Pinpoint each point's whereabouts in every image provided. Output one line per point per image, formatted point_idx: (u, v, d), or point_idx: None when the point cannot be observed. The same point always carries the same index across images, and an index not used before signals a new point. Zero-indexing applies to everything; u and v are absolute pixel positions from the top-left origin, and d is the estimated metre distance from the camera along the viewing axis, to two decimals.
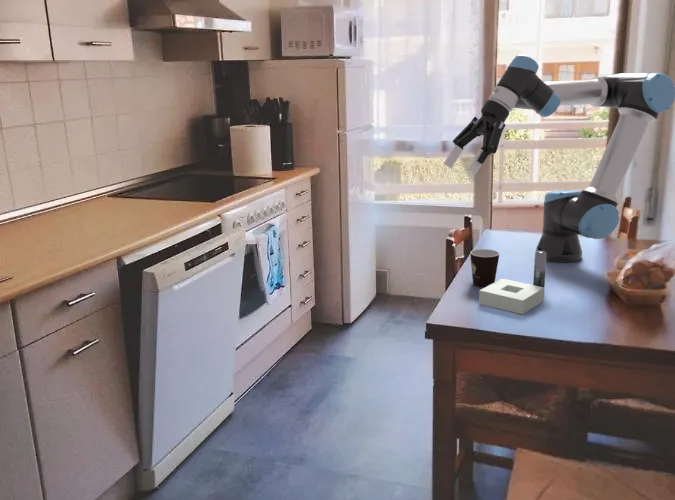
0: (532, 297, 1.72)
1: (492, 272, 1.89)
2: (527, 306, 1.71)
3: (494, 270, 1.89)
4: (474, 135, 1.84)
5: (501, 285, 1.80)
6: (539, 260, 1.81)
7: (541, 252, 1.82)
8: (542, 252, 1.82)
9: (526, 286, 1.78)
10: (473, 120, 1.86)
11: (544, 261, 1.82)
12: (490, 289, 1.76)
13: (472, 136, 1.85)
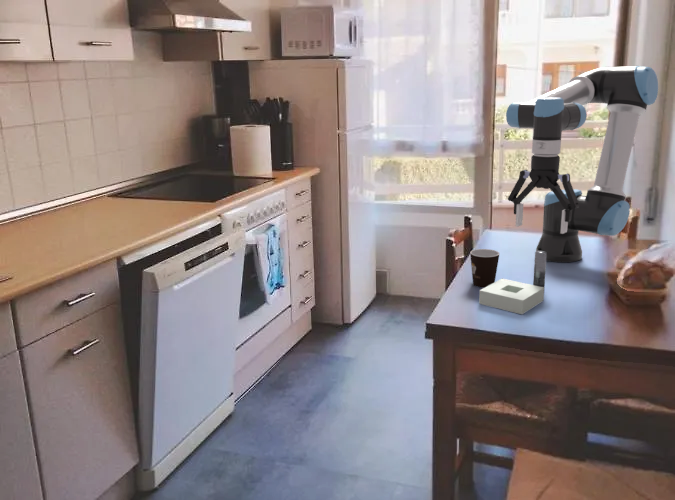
0: (532, 297, 1.72)
1: (492, 272, 1.89)
2: (527, 306, 1.71)
3: (494, 270, 1.89)
4: (532, 188, 1.80)
5: (501, 285, 1.80)
6: (539, 260, 1.81)
7: (541, 252, 1.82)
8: (542, 252, 1.82)
9: (526, 286, 1.78)
10: (522, 175, 1.80)
11: (544, 261, 1.82)
12: (490, 289, 1.76)
13: (530, 190, 1.80)
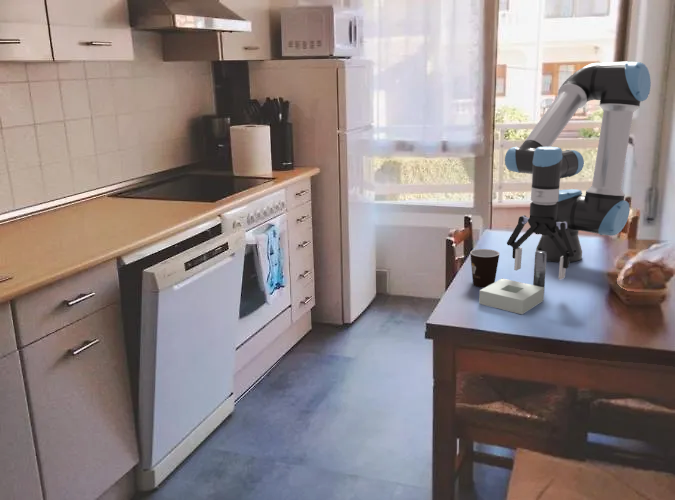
0: (532, 297, 1.72)
1: (492, 272, 1.89)
2: (527, 306, 1.71)
3: (494, 270, 1.89)
4: (530, 234, 1.83)
5: (501, 285, 1.80)
6: (539, 260, 1.81)
7: (541, 252, 1.82)
8: (542, 252, 1.82)
9: (526, 286, 1.78)
10: (521, 221, 1.83)
11: (544, 261, 1.82)
12: (490, 289, 1.76)
13: (529, 235, 1.84)
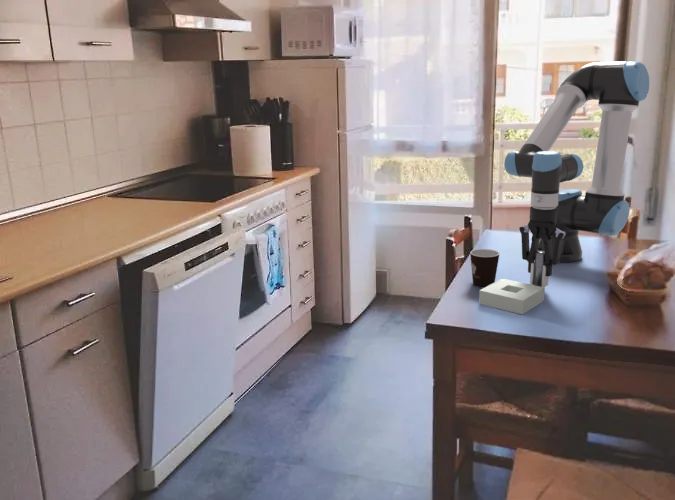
0: (532, 297, 1.72)
1: (492, 272, 1.89)
2: (527, 306, 1.71)
3: (494, 270, 1.89)
4: (537, 241, 1.83)
5: (501, 285, 1.80)
6: (539, 260, 1.81)
7: (541, 252, 1.82)
8: (542, 252, 1.82)
9: (526, 286, 1.78)
10: (522, 230, 1.83)
11: (544, 261, 1.82)
12: (490, 289, 1.76)
13: (537, 244, 1.83)
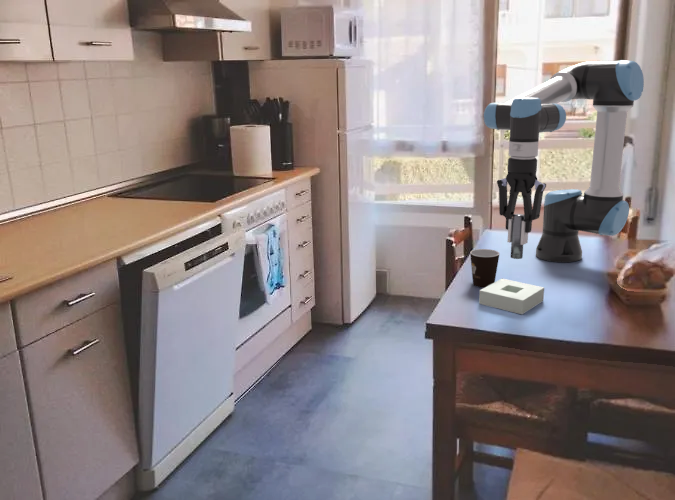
0: (532, 297, 1.72)
1: (492, 272, 1.89)
2: (527, 306, 1.71)
3: (494, 270, 1.89)
4: (516, 196, 1.71)
5: (501, 285, 1.80)
6: (517, 223, 1.71)
7: (519, 215, 1.72)
8: (520, 215, 1.71)
9: (526, 286, 1.78)
10: (500, 184, 1.72)
11: None
12: (490, 289, 1.76)
13: (515, 198, 1.72)
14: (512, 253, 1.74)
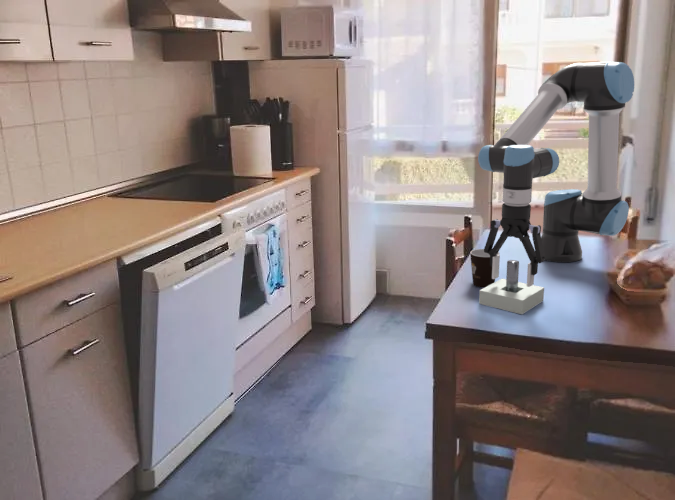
0: (532, 297, 1.72)
1: None
2: (527, 306, 1.71)
3: None
4: (505, 238, 1.75)
5: (501, 285, 1.80)
6: (511, 270, 1.74)
7: (513, 261, 1.74)
8: (514, 261, 1.74)
9: (526, 286, 1.78)
10: (493, 224, 1.75)
11: (516, 271, 1.74)
12: (490, 289, 1.76)
13: (504, 240, 1.75)
14: None
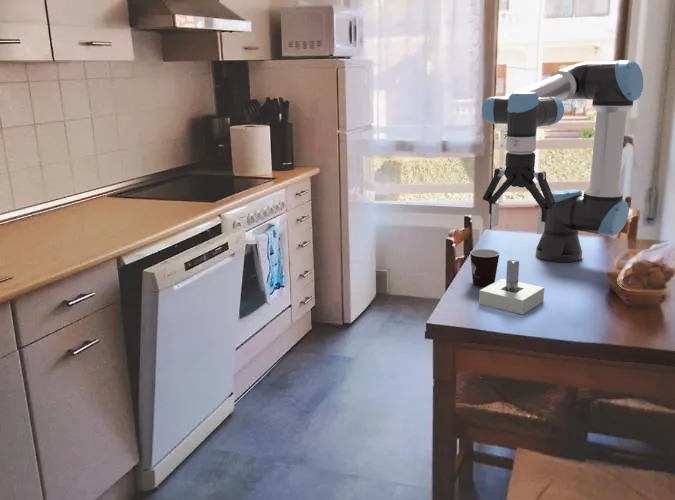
0: (532, 297, 1.72)
1: (492, 272, 1.89)
2: (527, 306, 1.71)
3: (494, 270, 1.89)
4: (507, 187, 1.73)
5: (501, 285, 1.80)
6: (511, 270, 1.74)
7: (513, 261, 1.74)
8: (514, 261, 1.74)
9: (526, 286, 1.78)
10: (497, 173, 1.72)
11: (516, 271, 1.74)
12: (490, 289, 1.76)
13: (505, 189, 1.73)
14: None
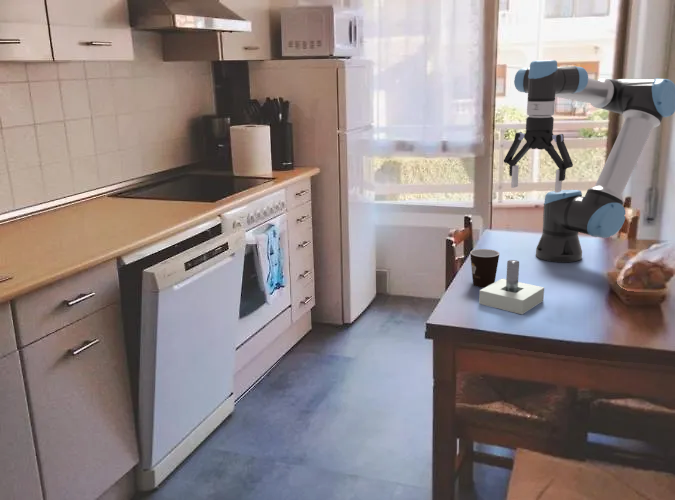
0: (532, 297, 1.72)
1: (492, 272, 1.89)
2: (527, 306, 1.71)
3: (494, 270, 1.89)
4: (527, 150, 1.86)
5: (501, 285, 1.80)
6: (511, 270, 1.74)
7: (513, 261, 1.74)
8: (514, 261, 1.74)
9: (526, 286, 1.78)
10: (517, 137, 1.85)
11: (516, 271, 1.74)
12: (490, 289, 1.76)
13: (525, 151, 1.86)
14: None
